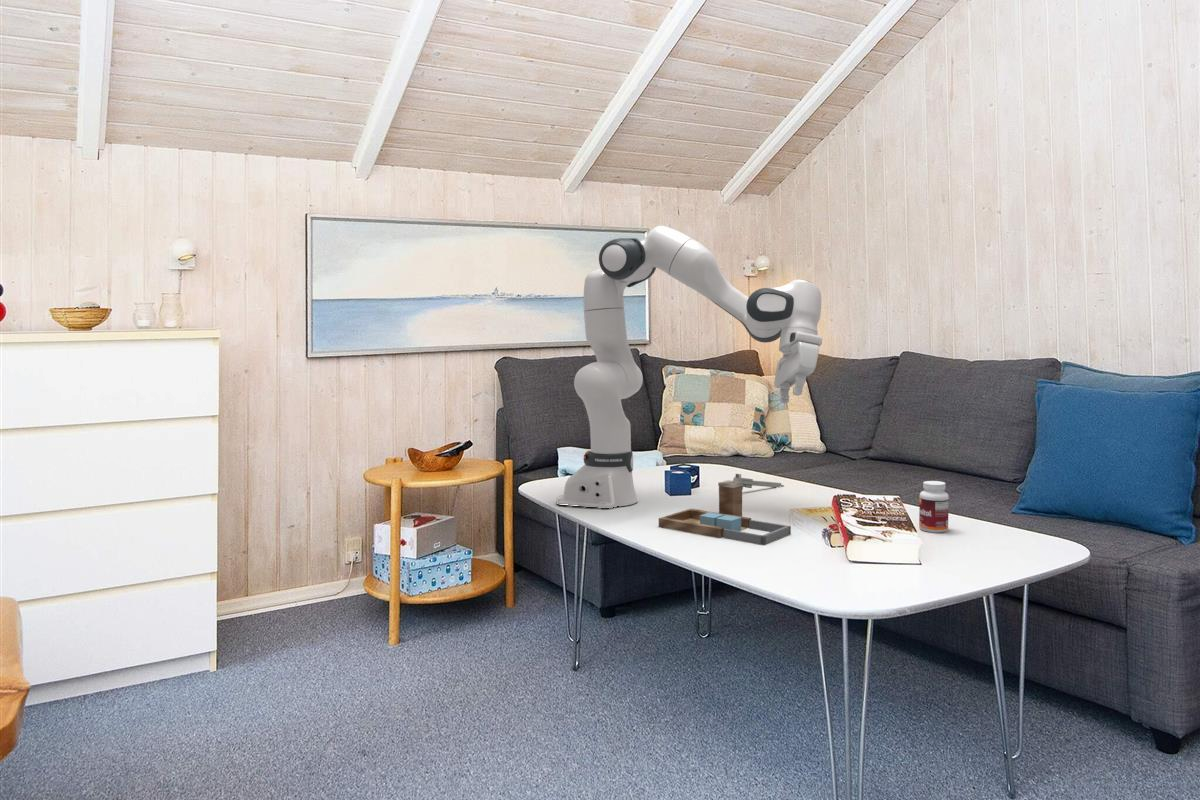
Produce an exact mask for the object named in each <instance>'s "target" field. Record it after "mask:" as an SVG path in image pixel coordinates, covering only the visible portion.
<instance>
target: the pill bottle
mask: <svg viewBox="0 0 1200 800" xmlns="http://www.w3.org/2000/svg"><path fill="white" fill-rule="evenodd" d="M922 485H923V486H922V488H923V489H924V490H922V491H920V493H919V505H918V506H919V507H918V508H919V510H918V511H919V512H918V518H919V520H918V526H919V529H920V530H921V531H924V532H927V533H932V532H933V534H937V533H938V534H940V533H946V532H947V531H948V530H949V514H950V513H949V510H950V509H949V507H950V506H949V503H950V501H949V500H950V497H949V494H948V492H946V491H945V490H946V482H945V481H939V480H927V481H923V484H922Z"/></svg>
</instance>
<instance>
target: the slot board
mask: <svg viewBox="0 0 1200 800" xmlns="http://www.w3.org/2000/svg"><path fill="white" fill-rule="evenodd" d="M709 512H710V513H716V514H722V513H719V512H715V511H709V510H708V511H707V510H702V509H696V508H688V509H685V510H682V511H678V512H675V513H672V514H668V515H665V516H662V517H659V518H658V527H659V528H661V529H662V528H664V529H668V530H673V531H679V532H682V533H683V532H685V533H689V534H695V535H701V536H706V537H712V538H716V539H722V538H723V529H724V528H723V527H717V526H711V525H705V524H700V515H703V514H706V513H709ZM723 515H724V516H725V515H729V514H723ZM729 516H735V515H729ZM735 517H741V516H735ZM749 520H752V517H746V516H742V517H741V531H745V530H746V529H750V528H749Z"/></svg>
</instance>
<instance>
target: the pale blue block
mask: <svg viewBox="0 0 1200 800" xmlns="http://www.w3.org/2000/svg"><path fill="white" fill-rule="evenodd" d="M710 512H711V511H710ZM710 512H709V513H706V514H703V515H700V524H705V525H711V526H716V518H719V517H722V516H724V515H723V514H716V513H717V512H716V513H710Z"/></svg>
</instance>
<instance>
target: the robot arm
mask: <svg viewBox="0 0 1200 800" xmlns="http://www.w3.org/2000/svg"><path fill="white" fill-rule="evenodd" d="M598 263H599V266H600V268H598V269H595V270H593V271H591V272H589V273H588V274H587V275H586V276H585V279H584V284H583V286H584V287H583V315H584V317H583V318H584V330H585V339H586V342H587V343H588V345H589V346H590V347H591V348H592V351H593V352H594V355H595V358H596V361H594V362H590V363H589V364H586V365H584V366H582V367H581V368H580V369H579V370H578V371H576V374H575V377H574V380H573V385H574V390H575V393H576V394H577V396H578V397H579V398H580V399H581V401H582V402H583V404H584V407H585V410H586V414H587V417H588V421H589V422H588V423H589V430H590V431H589V432H590V433H589V435H590V449H589V450H587V451H585V453H584V455H583V463H584V465H583V466H581V467H580V468H579V469H578V470H576V471H575V472H574V473H573V474H571V475H570V476H569V477H568V478H567V480H566V481H565V485H564V489H563V494H560V495H559V496H558V497H557V498H556V501H555V503H556V502H557V503H558V504H568V505H578V506H587V507H598V508H597V509H601V508H609V509H613V507H614V508H618V507H617V506H619V507H623V506H624V507H625V506H630V505H634V504H636V503H637V502H638V501H639V500H638V497H637V493H636V490H635V484H634V477H633V471H634V456H633V453H634V452H633V450H632V446H631V444H632V441H631V438H632V435H631V430H632V429H631V422H630V420H629V419H628V417H627V416H626V414H625V411H624V409H623V404H622V400H626V399H629V398H630V397H632V396H633V395H635V394H636V393H637V392H639V390H640V389H641V388H642V386H643V381H644V376H643V373H642V371H641V368H640V367H639V366H638V365H637V363H636V361H635V359H634V356H633V353H632V350H631V347H630V345H629V340H628V335H627V327H626V326H627V325H626V315H625V314H626V313H625V305H624V304H625V303H624V292H625V289H626V288H631V287H634V286H635V285H638V284H640V283H643V282H644V281H647V280H648V279H649V278H651V277H652V276H653V275H654V273H655V272H656V269H659V270H660V271H662V272H664V273H666V274H667V275H669V276H671V277H672V278H673V279H675V280H677V281H678V282H679V283H682V284H684V285H686V287H689V288H690V289H692V290H694V291H696V292H697V293H698V294H700V295H702V296H703V297H705V298H707V299H708V300H709V301H711V302H712V303H713V304H715V305H717V306H718V307H719V308H720V309H722V310H723V311H725V313H728V314H729V315H731V316H732V317H733V318H734V319H736V320H737V321H739V322H740V323H741V325H742V326H743V327H744V329H745V330H746V332H747V333H748V335H749V336H750V337H751V338H752V339H753V340H754V341H757V342H760V343H765V344H766V343H773V342H775V341H776V340H778V339H779V344H778V351H779V352H781V353H782V357H780V358H779V360H778V362H777V366H776V369H775V376H774V381H773V382H774V383H773V385H774V387H775V388H777V389H779V395H780V396H779V397H780V398H779V402H780V403H781V404H787V403H789V401H790V395H789V393H790V390H791V389H790V388H791V387H793V388H792V394H793V396H797V397H798V396H801V395H802V394H803V388H804V386H805V383H806V380H807V377H809V376H810V375H811V374H813V373H814V372H815V369H816V368H817V364H818V363H817V362H818V357H819V353H820V347H821V345H822V344H823V336H820V335H819V332H818V325H819V321H820V320H821V319H820V318H821V311H822V292H821V290H820V288H819V287H818V285H817V284H815V283H814V282H811V281H809V280H806V279H794V280H791V281H790V282H788V283H786V284H784V285H779V286H776V287H763V288H759V289H757V290H755V291H753V292H752V293H751V294H750V295H749V296H747V295H746V294H744V293H743V292H742V291H740V290H739V289H738V288H736V287H734V286H733V285H732V284H731V283H730V282H729V281H728V280H727V279H726V278H725V276H724V275H723V273H722V271H721V269H720V266H719V264H718V262H717V260H716V257H715V256H714V254H713V253H712V252H711V251H710V250H709V249H707V247H706V246H705V245H703V244H702V243H700V242H699V241H697V240H696V239H694V238H692V237H690V236H689V235H687V234H685V233H683V232H681V231H679V230H676V229H674V228H672V227H669V226H666V225H657V226H655V227H653V228H652V229H651V230H650V231H649V232H648V233H647V234H646V235H645V238H644V239H642V240H639V239H638V238H635V237H633V238H631V237H630V238H627V237H621V238H620V237H619V238H615V239H611V240H609V241H608V242H606V243H605V244H604V245H603V246H602V247H601V249H600V250H599V254H598Z"/></svg>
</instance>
